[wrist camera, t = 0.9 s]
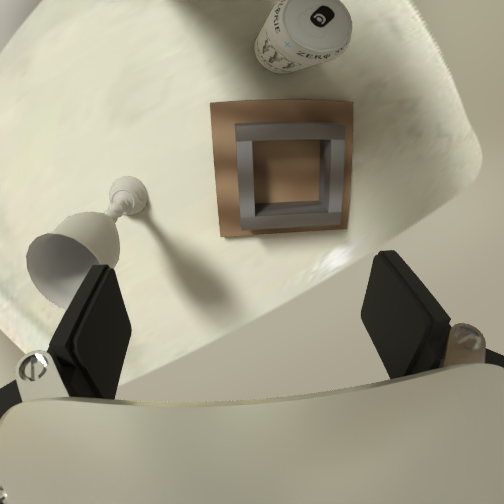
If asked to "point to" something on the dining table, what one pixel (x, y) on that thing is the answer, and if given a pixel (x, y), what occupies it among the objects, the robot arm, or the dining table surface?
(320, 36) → the energy drink can
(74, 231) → the chalice
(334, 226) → the socket block
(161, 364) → the dining table surface
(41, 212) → the dining table surface
